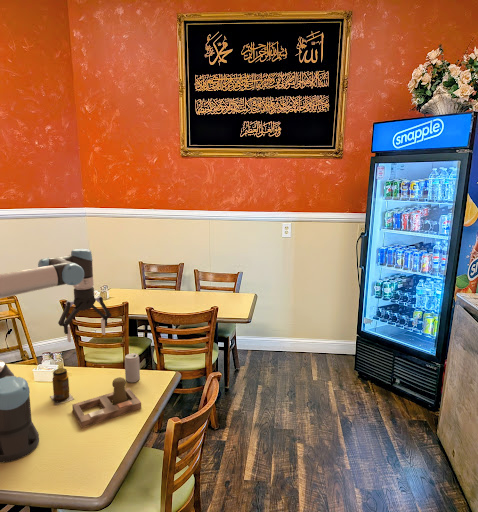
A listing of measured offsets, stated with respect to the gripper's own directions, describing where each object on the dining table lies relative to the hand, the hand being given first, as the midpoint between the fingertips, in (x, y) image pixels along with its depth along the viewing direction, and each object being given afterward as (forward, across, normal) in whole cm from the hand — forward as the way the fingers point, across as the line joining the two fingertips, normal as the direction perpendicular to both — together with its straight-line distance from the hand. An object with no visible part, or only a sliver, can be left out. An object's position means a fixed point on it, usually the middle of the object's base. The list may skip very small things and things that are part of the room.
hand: (86, 337), depth 159 cm
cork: (+27, +8, -12) cm, 31 cm away
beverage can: (+27, +20, +4) cm, 34 cm away
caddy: (+27, +3, -13) cm, 30 cm away
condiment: (+27, -10, +6) cm, 29 cm away
